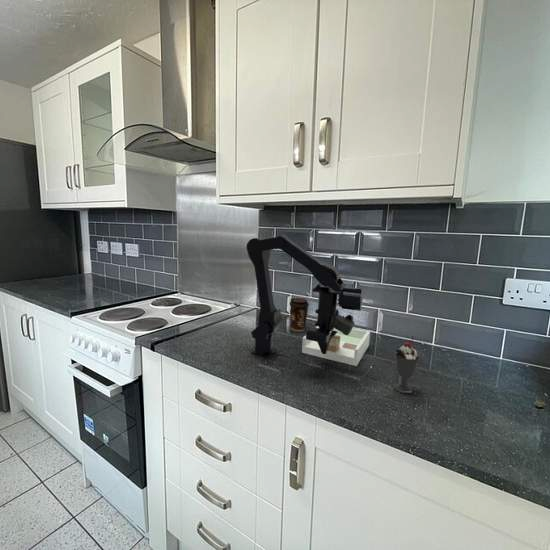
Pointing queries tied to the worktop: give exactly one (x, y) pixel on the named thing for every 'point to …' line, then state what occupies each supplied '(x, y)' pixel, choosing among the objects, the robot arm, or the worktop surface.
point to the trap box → (342, 347)
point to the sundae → (406, 363)
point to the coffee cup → (298, 313)
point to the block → (334, 344)
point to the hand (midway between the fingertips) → (324, 353)
